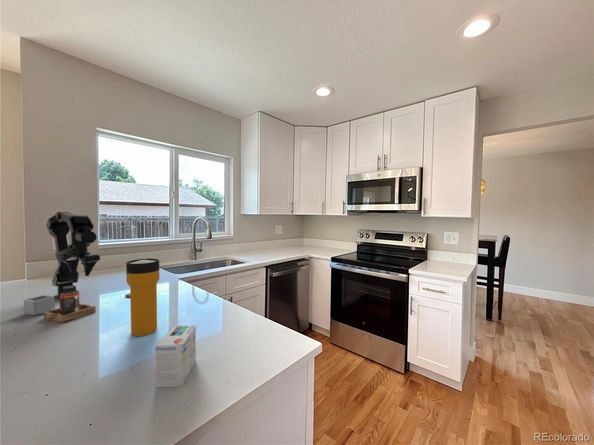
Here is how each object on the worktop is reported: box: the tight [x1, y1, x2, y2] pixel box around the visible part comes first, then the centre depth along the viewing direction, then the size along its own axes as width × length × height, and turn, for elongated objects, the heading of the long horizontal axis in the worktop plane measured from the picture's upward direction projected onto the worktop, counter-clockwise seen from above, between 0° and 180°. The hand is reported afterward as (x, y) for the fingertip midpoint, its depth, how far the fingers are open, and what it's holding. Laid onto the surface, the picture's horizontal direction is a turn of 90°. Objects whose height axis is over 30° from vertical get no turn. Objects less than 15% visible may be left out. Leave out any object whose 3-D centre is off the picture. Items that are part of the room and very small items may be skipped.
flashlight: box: [125, 258, 160, 337], centre depth 89 cm, size 10×26×10 cm
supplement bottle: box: [59, 284, 80, 315], centre depth 102 cm, size 6×6×11 cm
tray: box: [43, 302, 96, 324], centre depth 102 cm, size 12×12×2 cm
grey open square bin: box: [23, 294, 56, 316], centre depth 105 cm, size 7×7×6 cm
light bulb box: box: [154, 325, 197, 388], centre depth 66 cm, size 11×7×11 cm, turn 5°
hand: (80, 275), depth 116 cm, fingers open, 9 cm apart
